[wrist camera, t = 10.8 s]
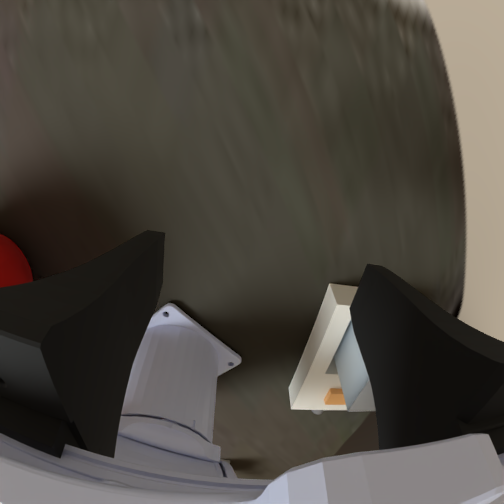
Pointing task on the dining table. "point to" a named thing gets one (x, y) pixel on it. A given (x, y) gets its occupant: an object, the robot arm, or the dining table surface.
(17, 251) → the ceramic cup
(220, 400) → the dining table surface
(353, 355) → the plug
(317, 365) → the white rectangular frame
